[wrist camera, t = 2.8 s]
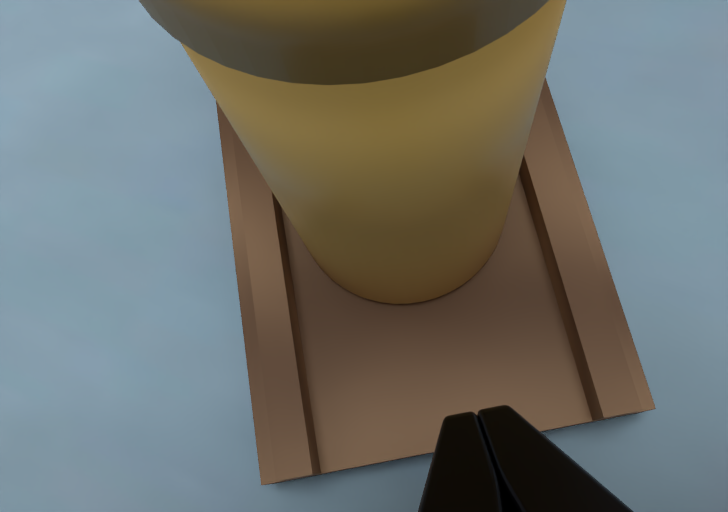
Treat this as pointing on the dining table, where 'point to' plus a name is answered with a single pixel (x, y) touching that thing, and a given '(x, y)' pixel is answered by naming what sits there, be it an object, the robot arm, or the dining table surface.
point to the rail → (429, 327)
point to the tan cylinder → (379, 123)
